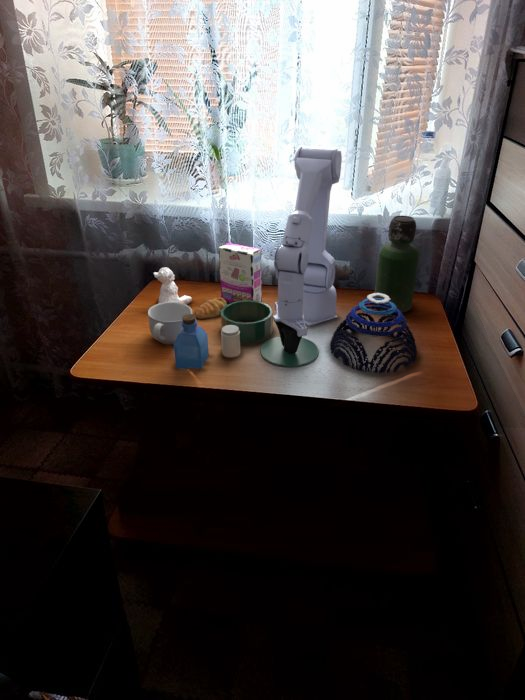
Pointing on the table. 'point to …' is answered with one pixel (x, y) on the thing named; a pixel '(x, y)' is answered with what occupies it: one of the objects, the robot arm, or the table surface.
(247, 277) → the candy bar box
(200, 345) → the perfume bottle
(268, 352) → the lid
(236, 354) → the salt shaker
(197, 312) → the pastry
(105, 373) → the table surface
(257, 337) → the pot
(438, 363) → the table surface
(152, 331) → the teacup
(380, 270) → the green bottle
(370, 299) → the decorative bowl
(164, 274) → the seated beast figurine
